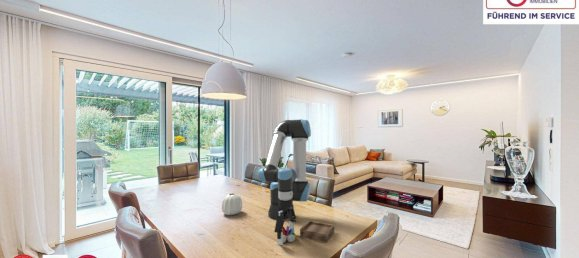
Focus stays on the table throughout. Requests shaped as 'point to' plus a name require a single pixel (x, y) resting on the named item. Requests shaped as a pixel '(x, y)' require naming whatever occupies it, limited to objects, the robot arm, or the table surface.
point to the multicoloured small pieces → (288, 234)
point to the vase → (231, 204)
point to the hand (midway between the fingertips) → (286, 239)
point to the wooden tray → (317, 231)
